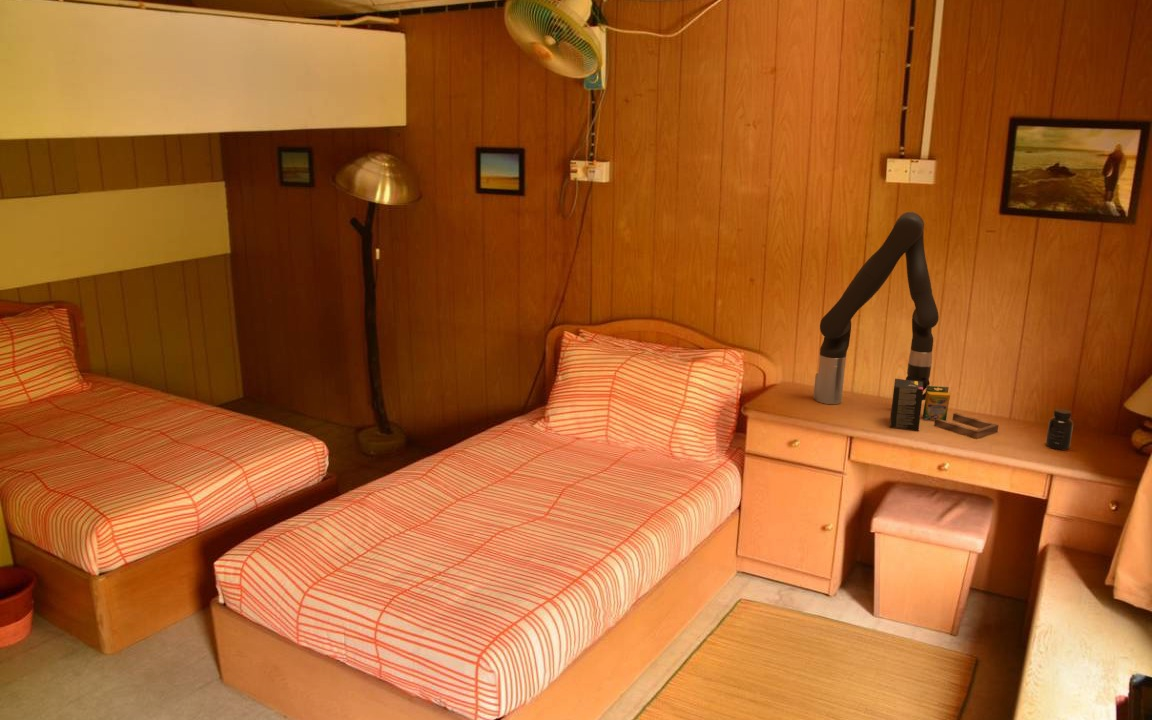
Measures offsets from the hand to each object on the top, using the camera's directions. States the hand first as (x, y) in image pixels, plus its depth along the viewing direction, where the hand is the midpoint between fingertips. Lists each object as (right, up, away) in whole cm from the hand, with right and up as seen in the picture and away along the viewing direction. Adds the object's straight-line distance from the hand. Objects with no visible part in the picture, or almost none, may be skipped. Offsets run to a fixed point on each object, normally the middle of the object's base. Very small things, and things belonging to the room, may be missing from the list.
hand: (914, 410), depth 322 cm
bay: (+11, -5, -14) cm, 19 cm away
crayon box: (+5, -3, -6) cm, 8 cm away
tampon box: (-8, -4, -12) cm, 15 cm away
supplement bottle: (+35, -10, -30) cm, 47 cm away
